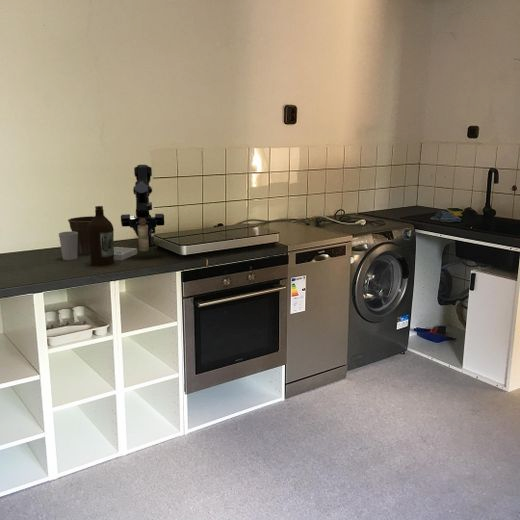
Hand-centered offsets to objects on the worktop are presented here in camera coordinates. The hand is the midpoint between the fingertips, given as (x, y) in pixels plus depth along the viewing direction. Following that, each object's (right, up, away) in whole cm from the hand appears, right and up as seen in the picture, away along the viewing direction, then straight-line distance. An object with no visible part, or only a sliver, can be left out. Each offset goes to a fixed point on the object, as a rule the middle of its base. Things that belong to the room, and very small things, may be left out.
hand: (143, 235), depth 254 cm
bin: (-13, -9, +9) cm, 19 cm away
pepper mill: (0, -6, +3) cm, 7 cm away
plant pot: (-29, -7, +19) cm, 36 cm away
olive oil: (-16, -13, -5) cm, 21 cm away
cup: (-33, -11, +5) cm, 35 cm away
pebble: (-12, -10, +5) cm, 16 cm away
